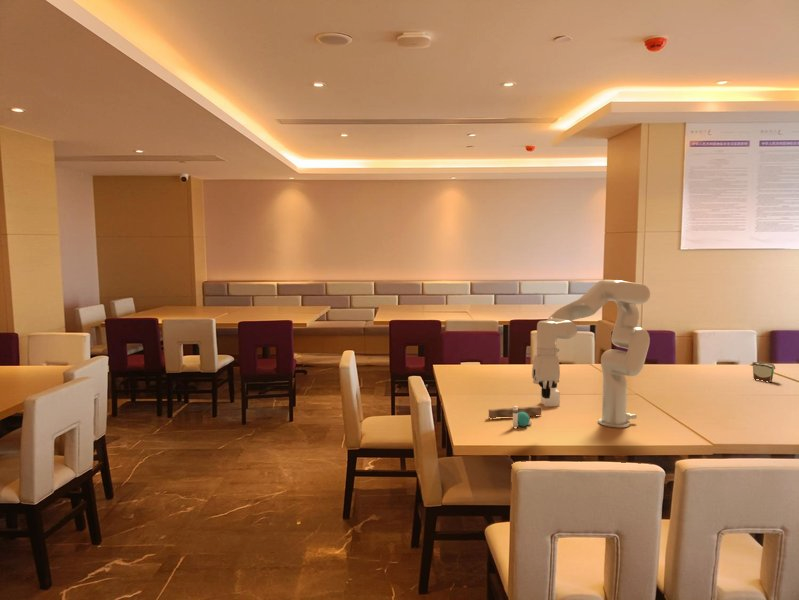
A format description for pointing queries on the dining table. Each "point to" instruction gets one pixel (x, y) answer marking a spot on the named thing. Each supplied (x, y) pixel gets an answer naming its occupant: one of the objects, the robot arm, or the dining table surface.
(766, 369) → the food container
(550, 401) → the medicine bottle
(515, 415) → the pin
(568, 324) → the robot arm
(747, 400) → the dining table surface
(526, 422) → the ball
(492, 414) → the back wall
